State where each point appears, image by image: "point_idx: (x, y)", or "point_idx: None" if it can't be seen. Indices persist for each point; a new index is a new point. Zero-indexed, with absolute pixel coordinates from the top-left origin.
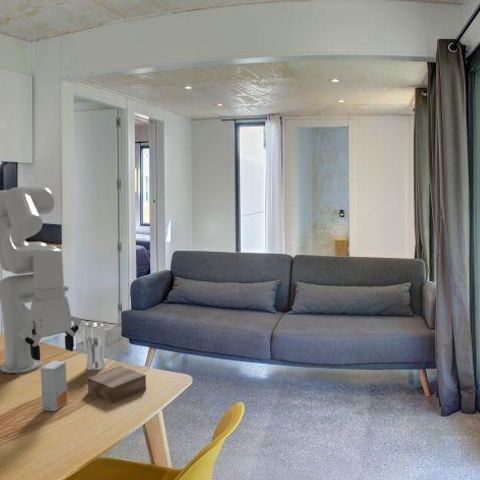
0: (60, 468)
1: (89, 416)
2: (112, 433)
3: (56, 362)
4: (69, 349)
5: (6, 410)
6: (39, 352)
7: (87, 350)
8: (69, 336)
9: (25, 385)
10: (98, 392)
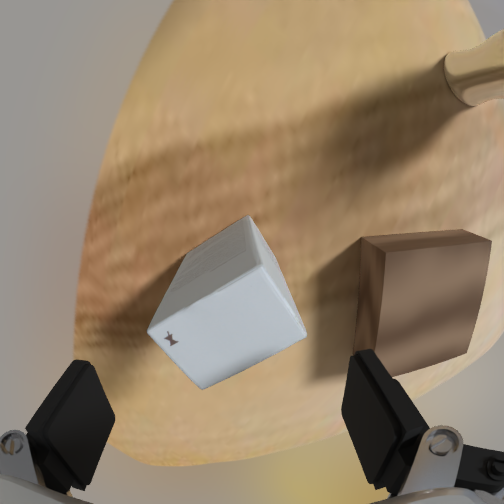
0: (146, 457)
1: (269, 375)
2: (259, 445)
3: (259, 314)
4: (346, 405)
5: (105, 167)
6: (98, 453)
7: (489, 59)
8: (384, 482)
9: (238, 10)
10: (364, 301)
